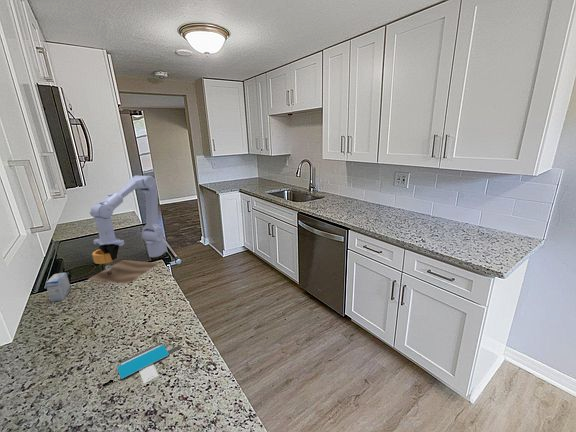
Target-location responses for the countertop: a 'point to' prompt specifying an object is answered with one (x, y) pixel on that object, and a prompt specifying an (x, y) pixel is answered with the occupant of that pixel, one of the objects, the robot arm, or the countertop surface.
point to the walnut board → (124, 271)
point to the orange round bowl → (102, 257)
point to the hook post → (108, 270)
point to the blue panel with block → (144, 362)
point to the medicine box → (58, 287)
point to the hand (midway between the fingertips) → (112, 259)
